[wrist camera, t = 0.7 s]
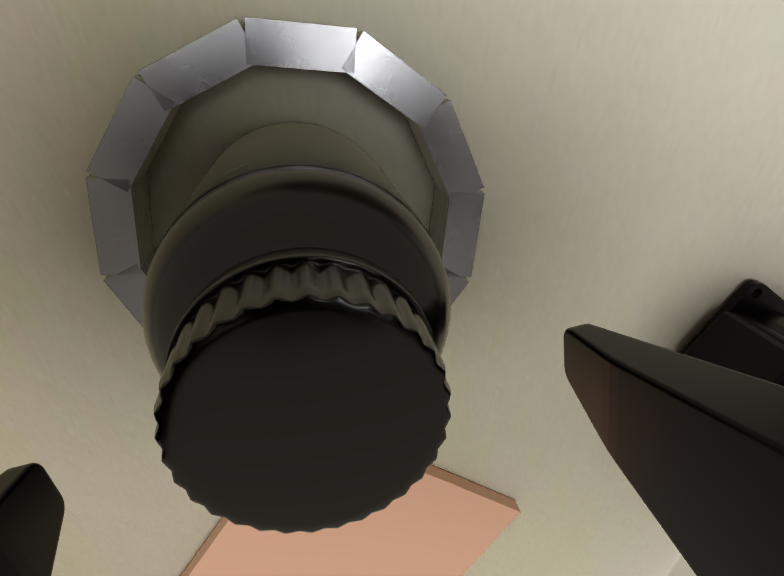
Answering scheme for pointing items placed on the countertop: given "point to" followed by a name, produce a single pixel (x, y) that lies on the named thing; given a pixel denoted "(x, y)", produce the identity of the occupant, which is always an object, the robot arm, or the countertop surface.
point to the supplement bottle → (297, 335)
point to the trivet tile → (372, 537)
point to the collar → (277, 49)
